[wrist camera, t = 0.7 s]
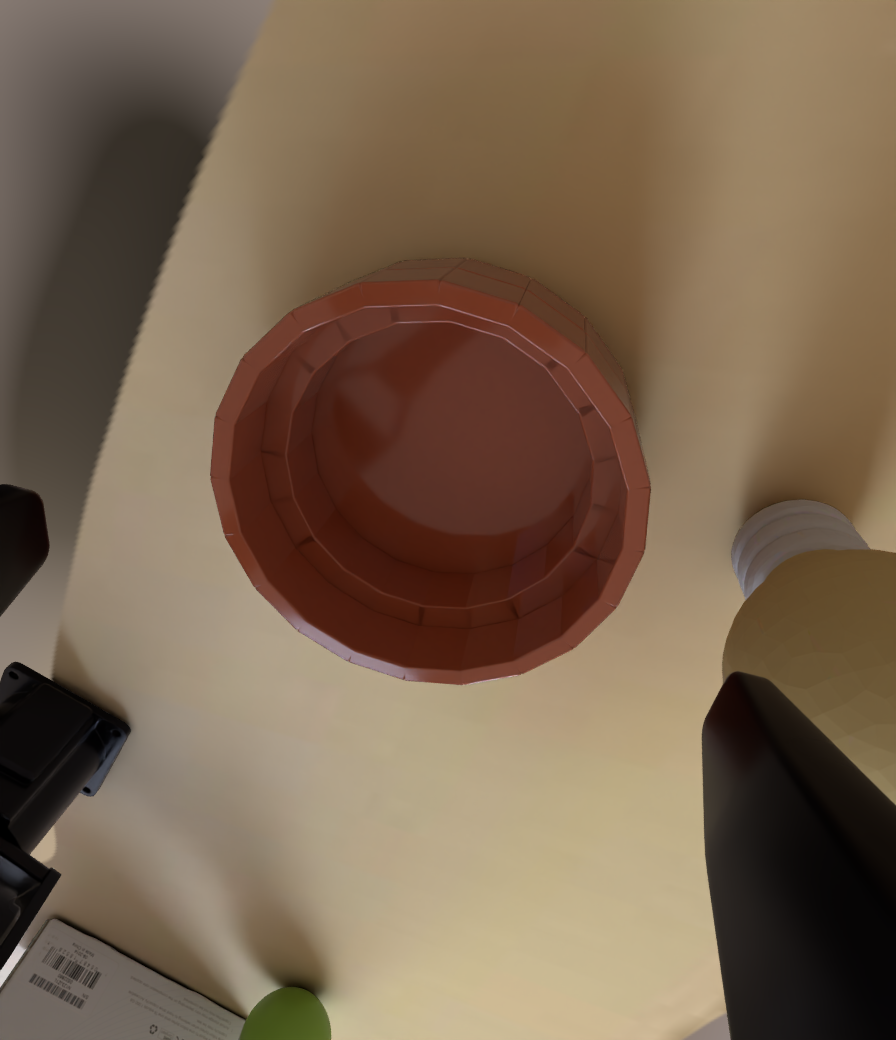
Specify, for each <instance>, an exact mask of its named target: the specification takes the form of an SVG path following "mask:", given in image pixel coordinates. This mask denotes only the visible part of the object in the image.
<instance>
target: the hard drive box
mask: <svg viewBox="0 0 896 1040" xmlns="http://www.w3.org/2000/svg"><path fill="white" fill-rule="evenodd" d="M245 1021H246V1020H245V1019H242V1018H240V1017H238V1016H237V1015H235V1014H233V1013H231V1012H229V1011H227V1010H225V1009H224V1008H222V1007H220V1006H218V1005H217V1004H215V1003H214V1002H212V1001H210V1000H208V999H207V998H205V997H203V996H202V995H200V994H198V993H196V992H193V991H190V990H188V989H186V988H184V987H183V986H181V985H179V984H177V983H175V982H173V981H171V980H169V979H167V978H165V977H163V976H161V975H160V974H158V973H156V972H154V971H152V970H150V969H148V968H146V967H145V966H143V965H141V964H139V963H137V962H136V961H134V960H132V959H130V958H128V957H126V956H125V955H123V954H121V953H119V952H117V951H116V950H115V949H114V948H112V947H110V946H108V945H106V944H104V943H102V942H101V941H99V940H97V939H95V938H93V937H90V936H88V935H85V934H83V933H81V932H80V931H78V930H76V929H74V928H72V927H70V926H68V925H66V924H64V923H63V922H61V921H59V920H57V919H52V920H47V921H46V922H45V923H44V925H43V926H42V927H41V929H40V930H39V932H38V933H37V935H36V936H35V938H34V939H33V941H32V942H31V943H30V945H29V946H28V948H27V949H26V951H25V952H24V954H23V955H22V957H21V958H20V960H19V961H18V963H17V964H16V965H15V967H14V968H13V970H12V971H11V973H10V974H9V976H8V977H7V979H6V980H5V981H4V983H3V984H2V986H1V987H0V1040H240V1035H241V1032H242V1029H243V1026H244V1024H245Z"/></svg>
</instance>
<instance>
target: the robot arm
mask: <svg viewBox="0 0 896 1040" xmlns="http://www.w3.org/2000/svg"><path fill="white" fill-rule="evenodd" d="M48 552H49V537H48V531H47V524H46V517H45V511H44V504H43V500H42V499H41V497H40V495H39V494H38V493H36V492H35V491H32V490H29V489H25V488H21V487H17V486H13V485H7V484H2V485H0V616H1V615H2V614H3V613H4V611H5V610H6V609H7V608H8V606H9V605H10V604H11V603H12V602H13V600H14V599H15V598H16V597H17V596H18V594H19V593H20V592H21V591H22V589H23V588H24V587H25V586H26V584H27V583H28V582H29V581H30V580H31V578H32V577H33V576H34V575H35V573H36V572H37V571H38V570H39V568H40V567H41V566H42V565H43V563H44V562H45V560H46V558H47V556H48ZM130 732H131V729H130V727H129V726H128V725H127V724H126V723H125V722H123V721H121V720H120V719H118V718H116V717H114V716H113V715H111V714H109V713H107V712H106V711H104V710H102V709H100V708H99V707H97V706H95V705H93V704H92V703H90V702H88V701H86V700H85V699H83V698H81V697H79V696H78V695H76V694H74V693H72V692H71V691H69V690H67V689H65V688H64V687H62V686H60V685H58V684H57V683H55V682H53V681H51V680H50V679H48V678H46V677H44V676H43V675H41V674H39V673H37V672H36V671H34V670H32V669H30V668H29V667H27V666H25V665H23V664H21V663H19V662H13V663H11V664H10V665H9V666H8V667H7V668H6V669H5V670H4V673H3V675H2V678H1V681H0V970H1V969H2V968H3V966H4V965H5V963H6V962H7V960H8V959H9V957H10V956H11V954H12V952H13V951H14V949H15V948H16V946H17V945H18V943H19V941H20V940H21V938H22V937H23V935H24V933H25V932H26V930H27V929H28V927H29V926H30V924H31V922H32V921H33V919H34V918H35V916H36V914H37V913H38V911H39V910H40V908H41V907H42V905H43V903H44V902H45V900H46V899H47V897H48V895H49V894H50V892H51V891H52V889H53V887H54V886H55V884H56V883H57V881H58V880H59V878H60V876H61V874H60V873H59V872H57V871H56V870H55V869H53V868H50V869H49V868H47V867H46V866H45V865H43V864H42V863H40V862H39V861H37V860H36V859H35V858H33V857H32V856H30V854H31V852H32V851H33V850H34V849H35V847H36V846H37V845H38V844H39V843H40V841H41V840H42V839H43V838H44V836H45V835H46V834H47V833H48V831H49V830H50V829H51V828H52V826H53V825H54V824H55V823H56V821H57V820H58V819H59V818H60V816H61V815H62V814H63V813H64V811H65V810H66V809H67V808H68V807H69V805H70V804H71V803H72V802H73V800H74V799H75V798H76V797H77V795H78V794H79V793H82V794H84V795H86V796H90V797H91V796H94V795H95V794H96V793H97V791H98V790H99V789H100V787H101V785H102V783H103V782H104V780H105V778H106V776H107V774H108V773H109V771H110V769H111V767H112V765H113V763H114V762H115V760H116V758H117V756H118V754H119V753H120V751H121V749H122V747H123V745H124V743H125V742H126V740H127V738H128V736H129V734H130ZM702 767H703V807H704V840H705V857H706V866H707V875H708V882H709V889H710V896H711V903H712V910H713V918H714V925H715V932H716V939H717V946H718V953H719V960H720V967H721V974H722V981H723V989H724V996H725V1003H726V1010H727V1017H728V1024H729V1031H730V1038H731V1040H896V805H895V804H894V803H893V802H892V801H891V800H890V799H889V798H888V797H887V796H886V795H885V794H884V793H883V792H882V791H881V790H880V789H879V788H878V787H877V786H876V785H875V784H874V783H873V782H872V781H871V780H870V779H869V778H868V777H867V776H866V775H865V774H864V773H863V772H862V771H861V770H860V769H859V768H858V767H857V766H856V765H855V764H854V763H853V762H852V761H851V760H850V759H849V758H848V757H847V756H846V755H845V754H844V753H843V752H842V751H841V750H840V749H839V748H838V747H837V746H836V745H835V744H834V743H833V742H832V741H831V740H830V739H829V738H828V737H827V736H826V735H825V734H824V733H823V732H822V731H821V730H820V729H819V728H818V727H817V726H816V725H815V724H814V723H813V722H812V721H811V720H810V719H809V718H808V717H807V716H806V715H805V714H804V713H802V712H801V711H800V710H799V709H798V708H797V707H796V706H795V705H794V704H793V703H792V702H791V701H790V700H789V699H788V698H787V697H786V696H785V695H784V694H783V693H782V692H781V691H780V690H779V689H778V688H777V687H776V686H775V685H774V684H773V683H772V682H771V681H770V680H768V679H766V678H764V677H760V676H756V675H752V674H748V673H744V672H740V671H735V672H732V673H731V674H730V675H729V676H728V677H727V678H726V680H725V681H724V683H723V685H722V687H721V689H720V691H719V693H718V695H717V697H716V699H715V700H714V702H713V704H712V706H711V708H710V710H709V712H708V714H707V716H706V718H705V721H704V724H703V729H702Z"/></svg>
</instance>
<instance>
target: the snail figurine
mask: <svg viewBox="0 0 896 1040" xmlns="http://www.w3.org/2000/svg"><path fill="white" fill-rule="evenodd" d="M240 1040H331V1027H330V1021H329V1018H328V1015H327V1012H326V1010H325V1008H324V1006H323V1005H322V1003H321V1002H320V1001H319V999H318V998H317V997H316V996H315V995H313V994H312V993H310V992H309V991H307V990H304V989H302V988H297V987H286V988H281V989H278V990H276V991H274V992H272V993H270V994H268V995H267V996H265V997H264V998H263V999H262V1000H261V1001H260V1002H259V1003H258V1004H257V1005H256V1006H255V1007H254V1008H253V1010H252V1011H251V1013H250V1014H249V1016H248V1018H247V1019H246V1021H245V1024H244V1026H243V1029H242V1032H241V1035H240Z"/></svg>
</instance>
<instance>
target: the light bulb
mask: <svg viewBox="0 0 896 1040" xmlns="http://www.w3.org/2000/svg"><path fill="white" fill-rule="evenodd" d="M731 558H732V565H733V569H734V572H735V574H736V576H737V578H738V580H739V584H740V587H741V589H742V592H743V594H744V596H745V600H746V601H745V602H744V603H743V605H742V607H741V608H740V610H739V612H738V613H737V615H736V616H735V618H734V621H733V624H732V626H731V629H730V631H729V634H728V637H727V639H726V643H725V648H724V652H723V662H722V675H723V683H724V681H725V680H726V678H727V677H728V676H729V675H730V674H731V673H732V672H735V671H740V672H744V673H748V674H752V675H756V676H760V677H764V678H766V679H768V680H770V681H771V682H772V683H773V684H774V685H775V686H776V687H777V688H778V689H779V690H780V691H781V692H782V693H783V694H784V695H785V696H786V697H787V698H788V699H789V700H790V701H791V702H792V703H793V704H794V705H795V706H796V707H797V708H798V709H799V710H800V711H801V712H802V713H804V714H805V715H806V716H807V717H808V718H809V719H810V720H811V721H812V722H813V723H814V724H815V725H816V726H817V727H818V728H819V729H820V730H821V731H822V732H823V733H824V734H825V735H826V736H827V737H828V738H829V739H830V740H831V741H832V742H833V743H834V744H835V745H836V746H837V747H838V748H839V749H840V750H841V751H842V752H843V753H844V754H845V755H846V756H847V757H848V758H849V759H850V760H851V761H852V762H853V763H854V764H855V765H856V766H857V767H858V768H859V769H860V770H861V771H862V772H863V773H864V774H865V775H866V776H867V777H868V778H869V779H870V780H871V781H872V782H873V783H874V784H875V785H876V786H877V787H878V788H879V789H880V790H881V791H882V792H883V793H884V794H885V795H886V796H887V797H888V798H889V799H890V800H891V801H892V802H893V803H894V804H895V805H896V553H893V552H887V551H881V550H872V549H870V548H869V547H868V545H867V543H866V542H865V541H864V539H863V538H862V537H861V536H860V535H859V533H858V532H857V531H856V530H855V528H854V526H853V525H852V523H851V522H850V521H849V520H848V519H847V518H846V517H845V516H844V515H843V514H842V513H841V512H840V511H838V510H837V509H836V508H833V507H831V506H829V505H827V504H824V503H821V502H818V501H811V500H804V499H802V500H790V501H784V502H780V503H776V504H773V505H771V506H769V507H766V508H764V509H762V510H761V511H759V512H758V513H756V514H754V515H753V516H752V517H751V518H750V519H748V520H747V521H746V522H745V523H744V524H743V526H742V527H741V528H740V530H739V531H738V533H737V535H736V537H735V540H734V543H733V546H732V551H731Z"/></svg>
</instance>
